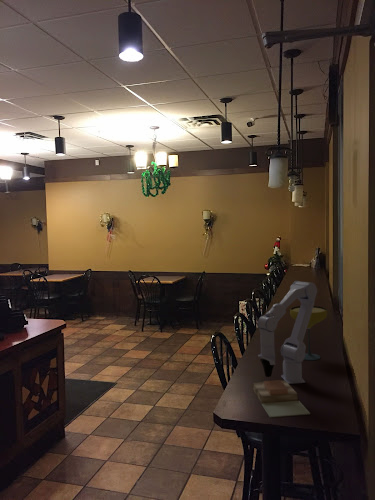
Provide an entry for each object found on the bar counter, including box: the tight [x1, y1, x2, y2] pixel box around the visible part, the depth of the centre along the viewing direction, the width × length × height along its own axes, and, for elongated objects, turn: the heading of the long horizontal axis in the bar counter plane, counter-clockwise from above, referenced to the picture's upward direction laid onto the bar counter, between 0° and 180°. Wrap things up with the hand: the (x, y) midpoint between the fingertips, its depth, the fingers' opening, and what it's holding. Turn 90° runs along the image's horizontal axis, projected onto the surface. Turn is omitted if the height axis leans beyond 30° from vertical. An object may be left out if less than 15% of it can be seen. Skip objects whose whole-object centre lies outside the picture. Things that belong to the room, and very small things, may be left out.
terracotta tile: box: [263, 379, 288, 395], centre depth 166 cm, size 9×7×2 cm
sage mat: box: [260, 400, 311, 419], centre depth 155 cm, size 11×15×1 cm
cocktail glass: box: [289, 305, 328, 361], centre depth 213 cm, size 18×18×25 cm
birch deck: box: [252, 380, 298, 404], centre depth 168 cm, size 14×14×3 cm
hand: (268, 376), depth 176 cm, fingers closed
